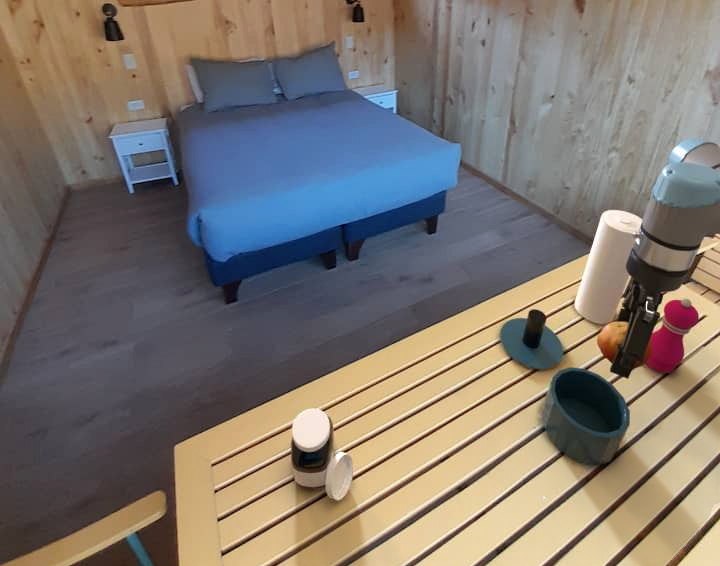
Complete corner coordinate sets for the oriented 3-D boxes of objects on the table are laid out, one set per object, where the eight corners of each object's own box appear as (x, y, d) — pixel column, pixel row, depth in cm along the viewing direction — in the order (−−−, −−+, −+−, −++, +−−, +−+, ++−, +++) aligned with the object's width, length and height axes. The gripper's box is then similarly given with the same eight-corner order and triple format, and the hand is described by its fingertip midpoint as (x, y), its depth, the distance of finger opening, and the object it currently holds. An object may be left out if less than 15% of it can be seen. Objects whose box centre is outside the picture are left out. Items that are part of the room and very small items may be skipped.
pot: (616, 415, 84) (629, 387, 80) (615, 481, 74) (630, 452, 69) (547, 385, 90) (555, 357, 86) (536, 441, 80) (546, 412, 76)
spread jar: (300, 434, 82) (294, 399, 77) (355, 435, 81) (353, 400, 76) (288, 506, 71) (281, 470, 66) (352, 508, 71) (350, 472, 65)
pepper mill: (633, 354, 97) (659, 293, 88) (652, 344, 99) (680, 283, 90) (663, 380, 91) (695, 317, 82) (683, 368, 93) (716, 306, 84)
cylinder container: (605, 330, 103) (640, 236, 89) (568, 308, 109) (595, 218, 96) (619, 310, 108) (653, 219, 95) (583, 291, 115) (610, 203, 101)
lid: (565, 335, 102) (574, 306, 97) (558, 382, 91) (567, 352, 86) (506, 312, 109) (512, 285, 104) (493, 354, 97) (498, 325, 93)
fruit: (637, 387, 66) (626, 339, 66) (595, 369, 74) (585, 326, 74) (669, 369, 69) (658, 323, 69) (626, 353, 76) (616, 312, 77)
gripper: (631, 216, 72) (599, 307, 83) (632, 291, 56) (592, 392, 67) (682, 229, 69) (642, 322, 79) (698, 312, 53) (645, 415, 63)
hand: (619, 354), depth 73 cm, fingers closed on fruit, 8 cm apart
